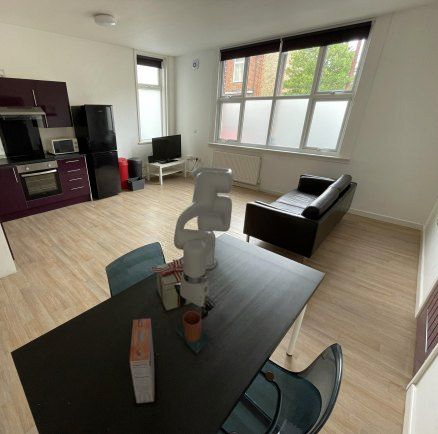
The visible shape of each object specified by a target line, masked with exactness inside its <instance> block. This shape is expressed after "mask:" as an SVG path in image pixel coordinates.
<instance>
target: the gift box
mask: <svg viewBox="0 0 438 434" xmlns="http://www.w3.org/2000/svg"><path fill="white" fill-rule="evenodd" d="M151 270H152V273H154V274H156V281H157V282H156V283H157V291H158V294H159V297H160V300H161V302H162V304H163V306H164V308H165V311H171V310H173V309H177V308H181V307H180V298H179V297H178V294H177V292H176V289H175V287H174V284H176V283H181V278H182V275H183V259H178V258H177V259H172V261H170V262H167V263H162V264H159V265H155V266H154V267H153V266H152V267H151ZM190 304H193V303H192V302H190V301H188V300H187V299H186V303H185V304H184V305H183V306H187V305H190ZM183 306H182V307H183Z"/></svg>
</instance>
